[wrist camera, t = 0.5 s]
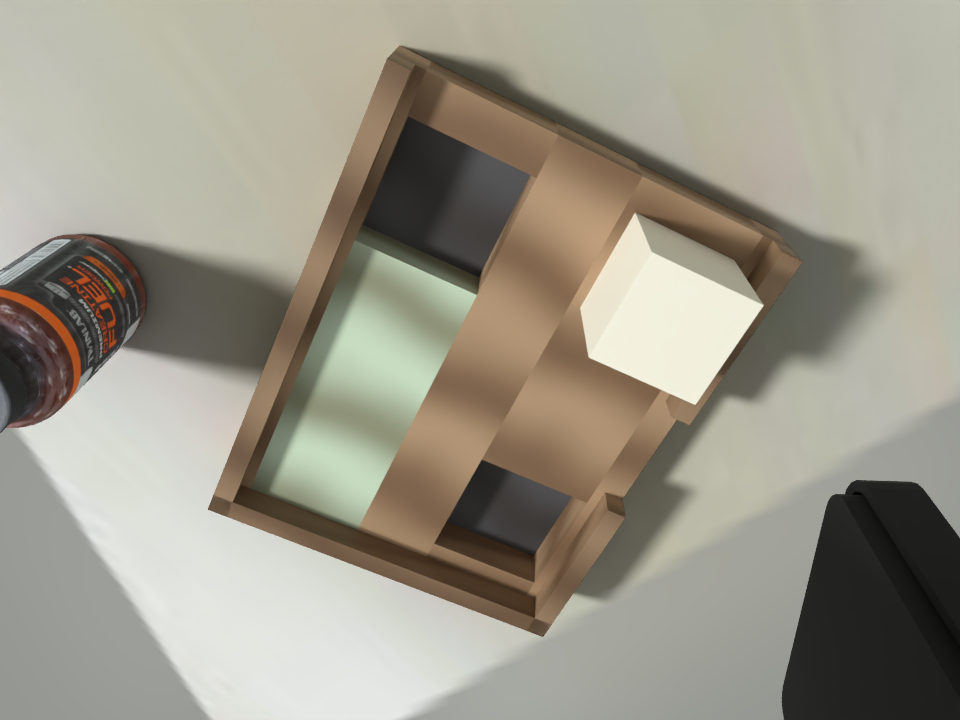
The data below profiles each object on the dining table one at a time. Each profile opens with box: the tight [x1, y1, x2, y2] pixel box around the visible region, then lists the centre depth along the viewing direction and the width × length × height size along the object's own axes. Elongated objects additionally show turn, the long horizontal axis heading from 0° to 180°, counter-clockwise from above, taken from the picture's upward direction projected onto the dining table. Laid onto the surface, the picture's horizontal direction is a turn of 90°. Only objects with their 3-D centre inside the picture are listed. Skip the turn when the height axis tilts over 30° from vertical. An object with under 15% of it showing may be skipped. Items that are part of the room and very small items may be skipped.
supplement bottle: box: [0, 235, 146, 433], centre depth 37 cm, size 6×6×11 cm
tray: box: [208, 46, 802, 637], centre depth 41 cm, size 24×19×4 cm
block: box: [580, 213, 764, 405], centre depth 36 cm, size 5×5×5 cm
